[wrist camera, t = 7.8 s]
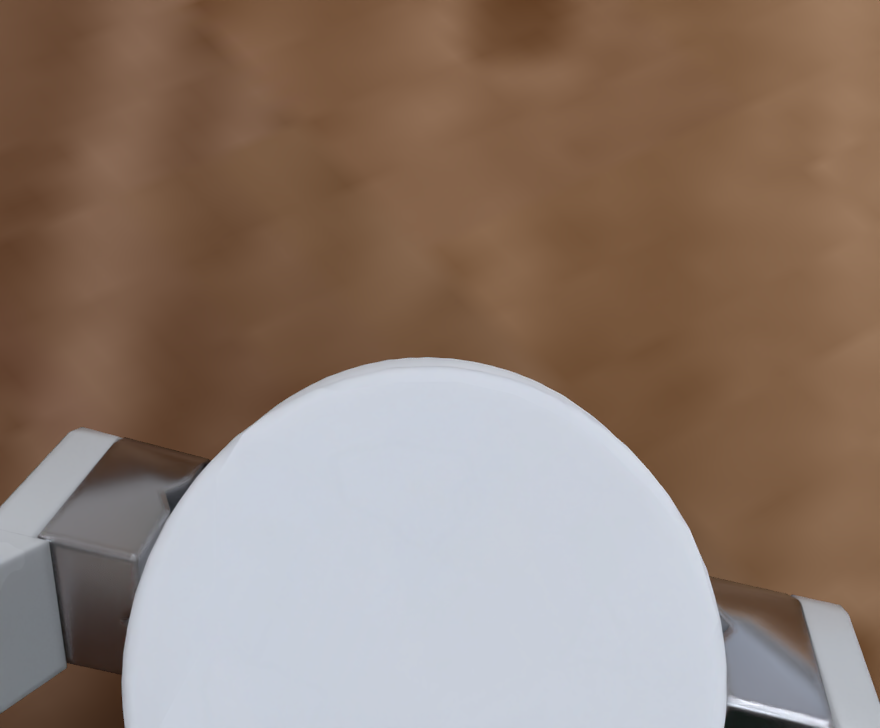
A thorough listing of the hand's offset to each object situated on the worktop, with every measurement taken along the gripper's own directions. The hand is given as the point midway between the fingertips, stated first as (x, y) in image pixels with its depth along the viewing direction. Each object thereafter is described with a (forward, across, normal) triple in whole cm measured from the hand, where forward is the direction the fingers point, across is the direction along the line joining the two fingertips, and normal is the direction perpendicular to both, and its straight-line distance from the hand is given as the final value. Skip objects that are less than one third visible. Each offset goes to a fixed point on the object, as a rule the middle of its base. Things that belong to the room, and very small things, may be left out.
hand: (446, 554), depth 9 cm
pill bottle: (+4, 0, -5) cm, 6 cm away
